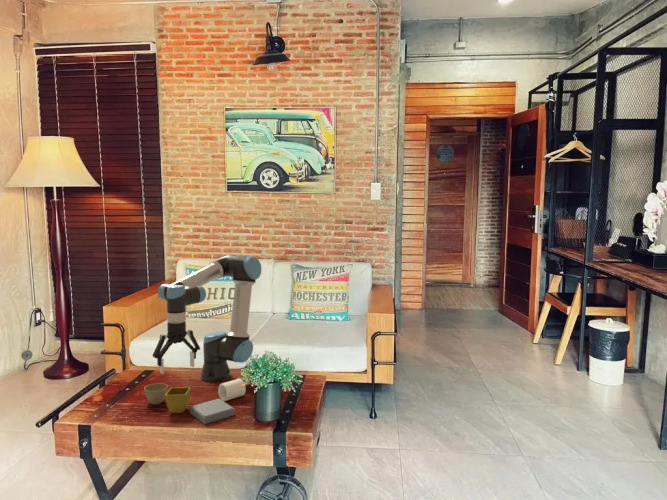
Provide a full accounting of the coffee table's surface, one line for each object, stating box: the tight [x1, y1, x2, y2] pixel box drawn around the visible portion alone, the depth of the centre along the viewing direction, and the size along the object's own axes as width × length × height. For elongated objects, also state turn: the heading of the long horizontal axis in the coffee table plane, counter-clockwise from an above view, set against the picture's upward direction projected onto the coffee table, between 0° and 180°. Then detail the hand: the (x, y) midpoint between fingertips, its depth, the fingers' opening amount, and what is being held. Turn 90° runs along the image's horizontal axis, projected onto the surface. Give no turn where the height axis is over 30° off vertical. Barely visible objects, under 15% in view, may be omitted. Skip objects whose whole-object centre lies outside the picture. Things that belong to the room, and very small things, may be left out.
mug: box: [217, 378, 246, 402], centre depth 225 cm, size 12×10×8 cm
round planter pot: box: [143, 382, 169, 405], centre depth 218 cm, size 10×10×7 cm
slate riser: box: [189, 398, 236, 425], centre depth 207 cm, size 14×14×3 cm
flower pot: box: [164, 386, 191, 414], centre depth 209 cm, size 9×9×9 cm
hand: (177, 369), depth 207 cm, fingers open, 13 cm apart
